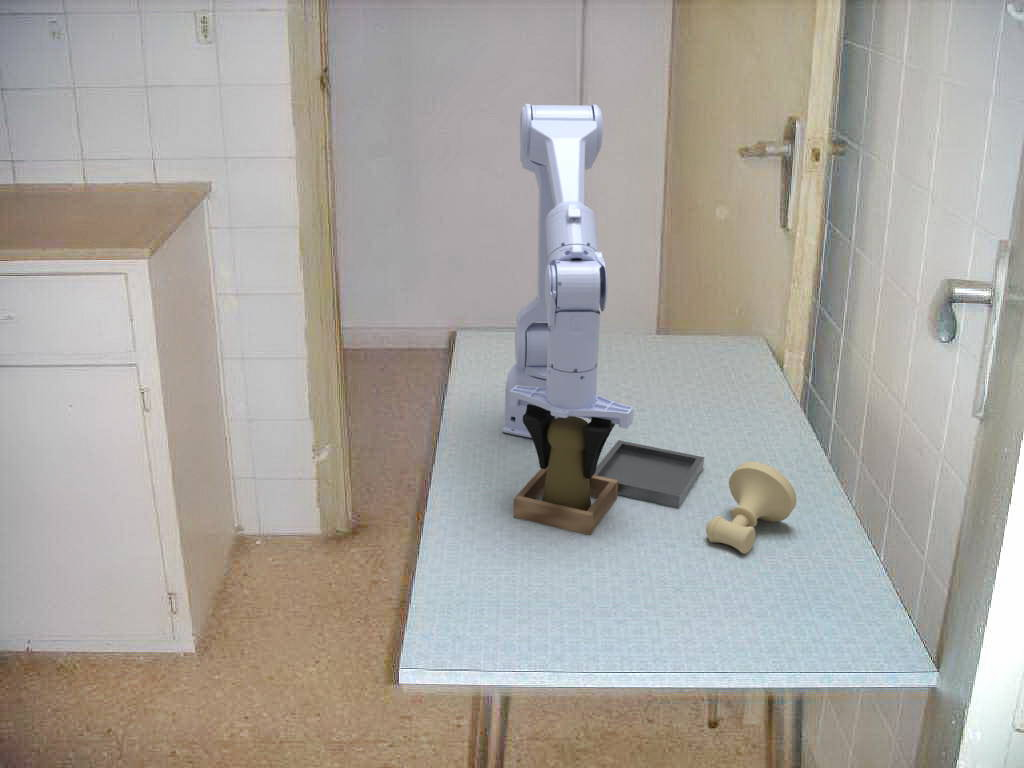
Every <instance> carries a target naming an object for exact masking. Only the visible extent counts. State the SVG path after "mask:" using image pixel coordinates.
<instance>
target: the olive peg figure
mask: <svg viewBox="0 0 1024 768" xmlns="http://www.w3.org/2000/svg"><path fill="white" fill-rule="evenodd" d="M588 423H589V422H588V421H587V420H585V418H584V419H583V417H578V416H576V417H575V416H568V417H567V418H561V417H558V418H556V419H554V420H553V421H552V422H551V423H550V424H549V427H548V430H547V438H548V442H549V443H550V445H551V452H550V457H549V463H548V469H547V474H546V480H545V485H544V491H543V492H542V497H541V501H544V502H548V503H553V504H557V505H562V506H566V507H570V508H575V509H579V510H584V511H588V509H589V508H590V507H591V505H592V498H591V497H592V496H590V484H589V479H587V478H584V466H585V439H584V433H583V429H584V428H585V427H586V426H587V424H588Z"/></svg>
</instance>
